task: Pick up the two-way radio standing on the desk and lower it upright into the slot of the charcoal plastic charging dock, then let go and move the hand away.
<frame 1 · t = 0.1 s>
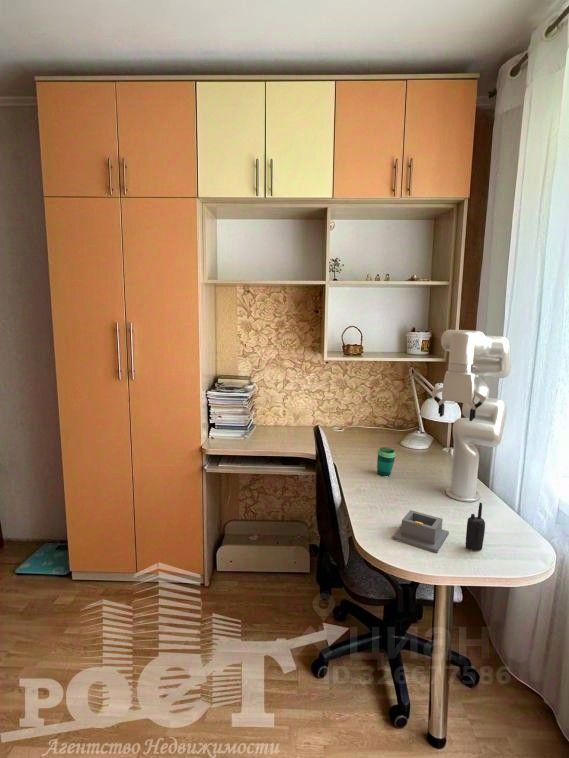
hand: (456, 418, 148), 37 cm above the table, tool pointing down, fingers open, 9 cm apart
two-way radio: (474, 550, 134), on the table
cup: (385, 475, 193), on the table
charging dock: (421, 536, 141), on the table
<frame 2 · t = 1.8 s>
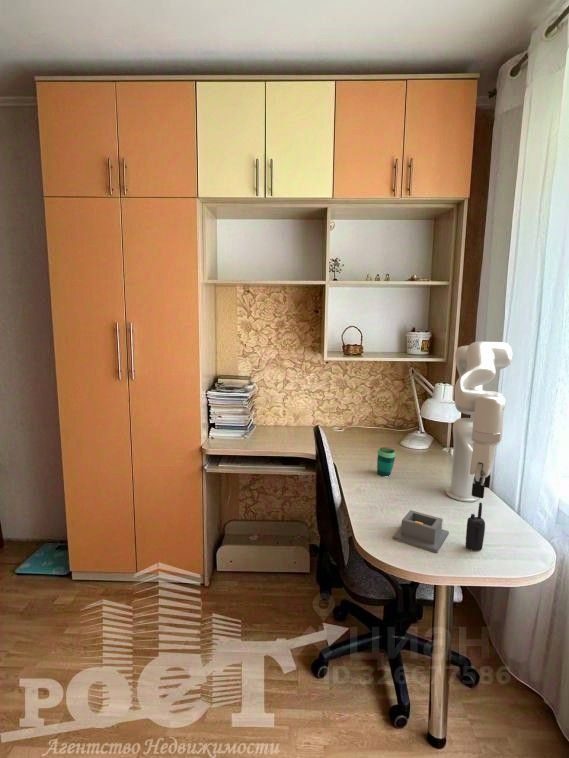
hand: (480, 491, 130), 19 cm above the table, tool pointing down, fingers open, 9 cm apart
nothing on the table moved.
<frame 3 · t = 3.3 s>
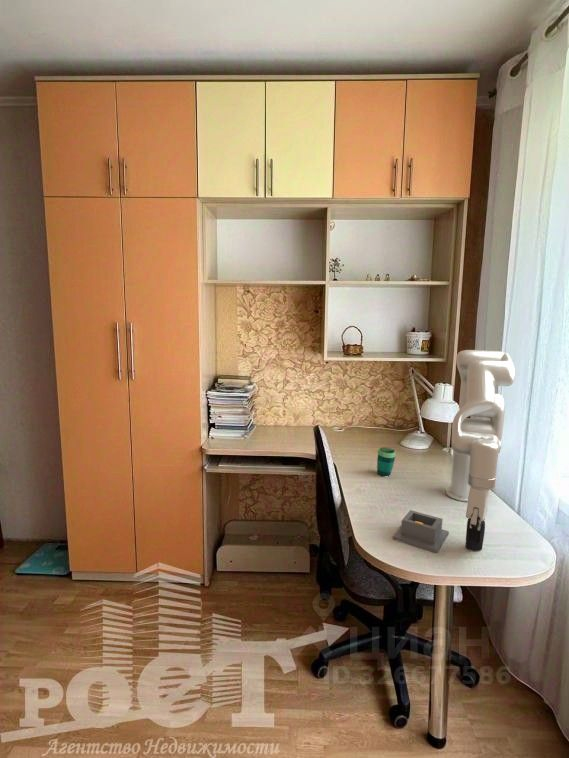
hand: (476, 535, 133), 5 cm above the table, tool pointing down, fingers open, 5 cm apart
two-way radio: (474, 550, 134), on the table, touching gripper
everything else where it was.
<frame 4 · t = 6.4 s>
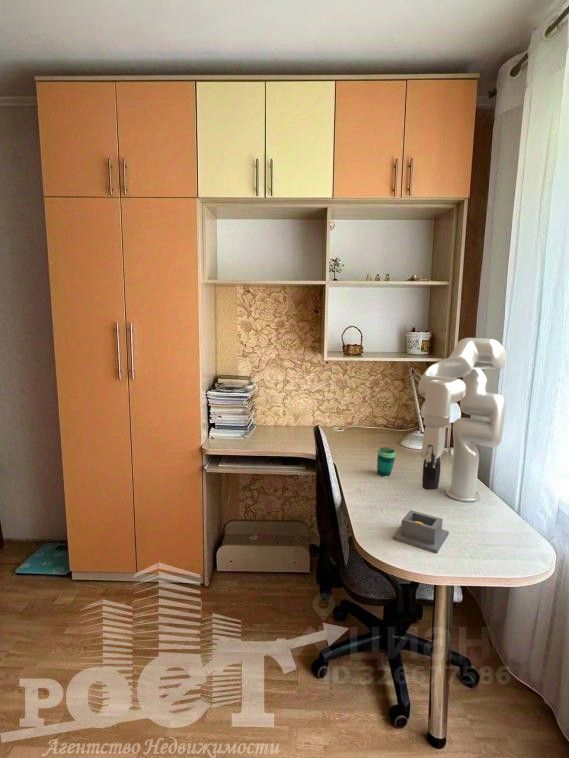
hand: (432, 475, 137), 21 cm above the table, tool pointing down, fingers closed on two-way radio, 4 cm apart
two-way radio: (431, 489, 137), point 17 cm above the table, touching gripper
everything else where it was.
when the fingers open (7 cm above the table, at t = 9.3 s): two-way radio drops 1 cm, resting on charging dock.
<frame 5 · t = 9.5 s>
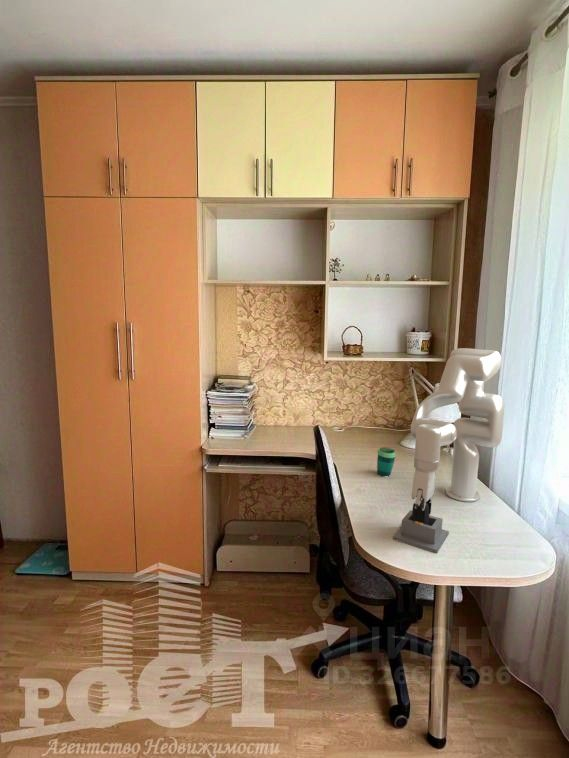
hand: (422, 516, 140), 7 cm above the table, tool pointing down, fingers open, 5 cm apart
two-way radio: (421, 534, 141), point 1 cm above the table, touching charging dock
everything else where it was.
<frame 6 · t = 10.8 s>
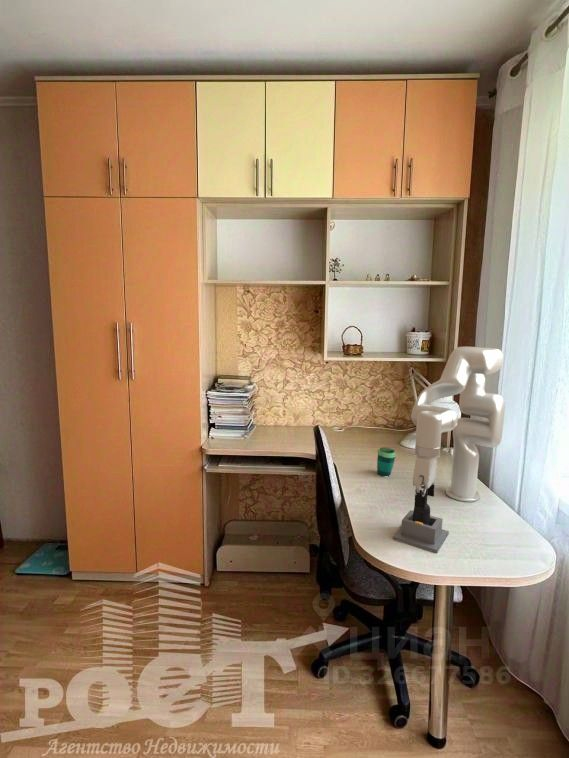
hand: (424, 500, 140), 12 cm above the table, tool pointing down, fingers open, 9 cm apart
nothing on the table moved.
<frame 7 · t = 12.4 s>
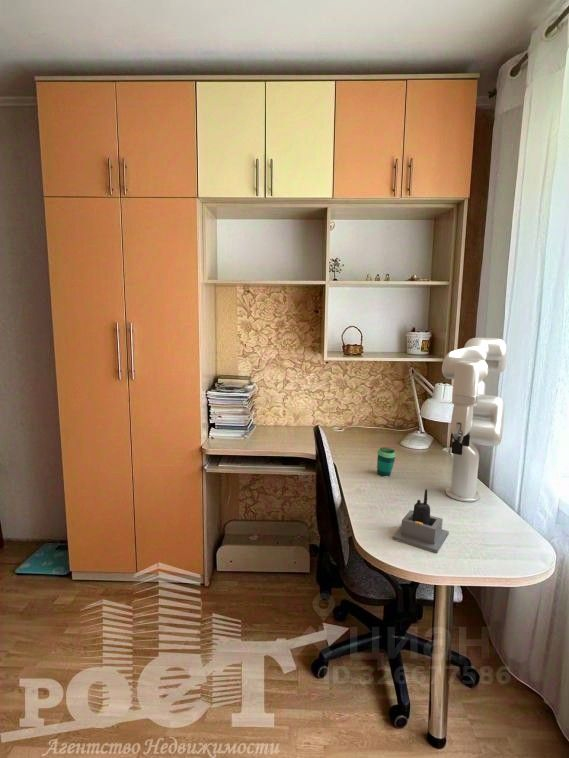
hand: (460, 449, 143), 27 cm above the table, tool pointing down, fingers open, 9 cm apart
nothing on the table moved.
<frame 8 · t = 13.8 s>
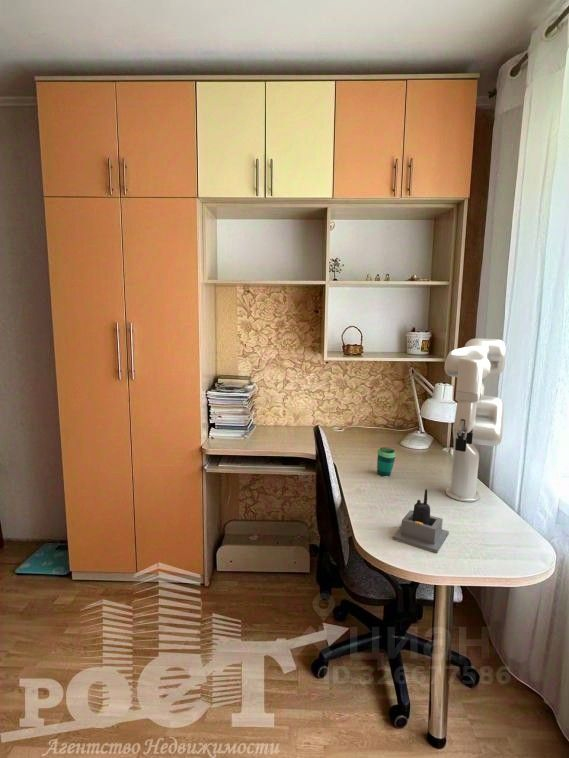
hand: (463, 446, 144), 28 cm above the table, tool pointing down, fingers open, 9 cm apart
nothing on the table moved.
at the end: two-way radio 0.3 cm off-centre on the charging dock, point 0.8 cm above the charging dock's base; two-way radio tilted 0°; the gripper is holding nothing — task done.
